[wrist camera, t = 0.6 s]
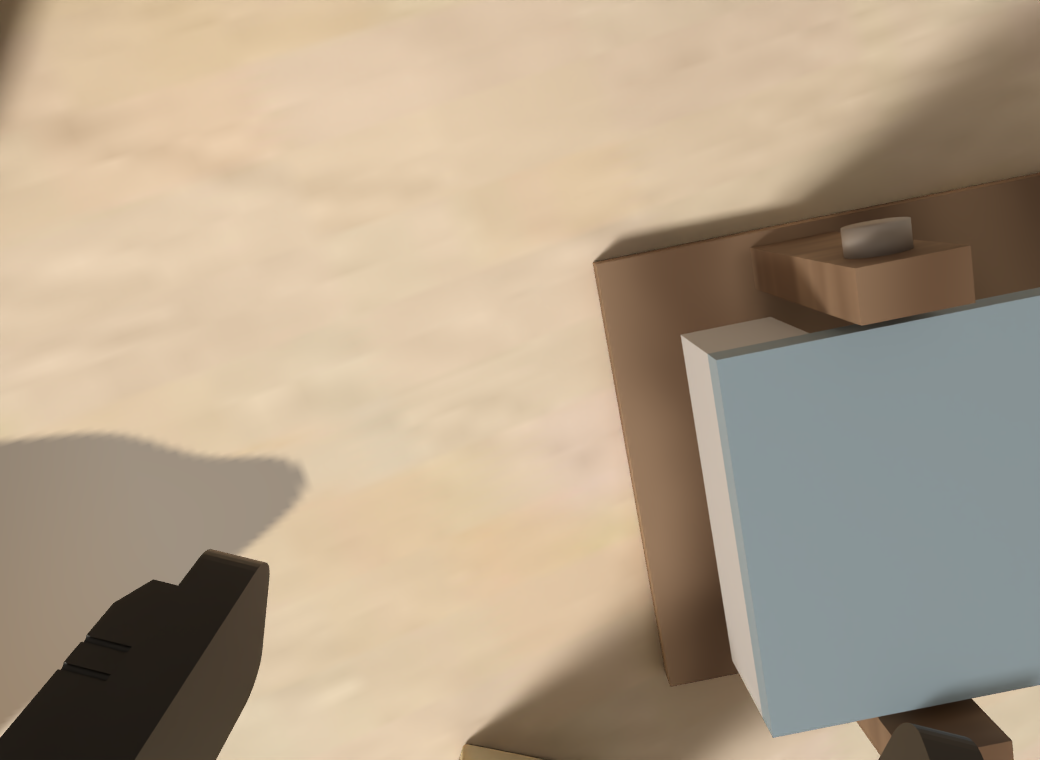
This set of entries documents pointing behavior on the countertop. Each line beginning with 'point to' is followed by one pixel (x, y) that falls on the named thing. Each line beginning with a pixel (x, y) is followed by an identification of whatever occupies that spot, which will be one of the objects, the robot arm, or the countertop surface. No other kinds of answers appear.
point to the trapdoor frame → (812, 308)
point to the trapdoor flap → (875, 507)
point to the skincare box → (490, 754)
